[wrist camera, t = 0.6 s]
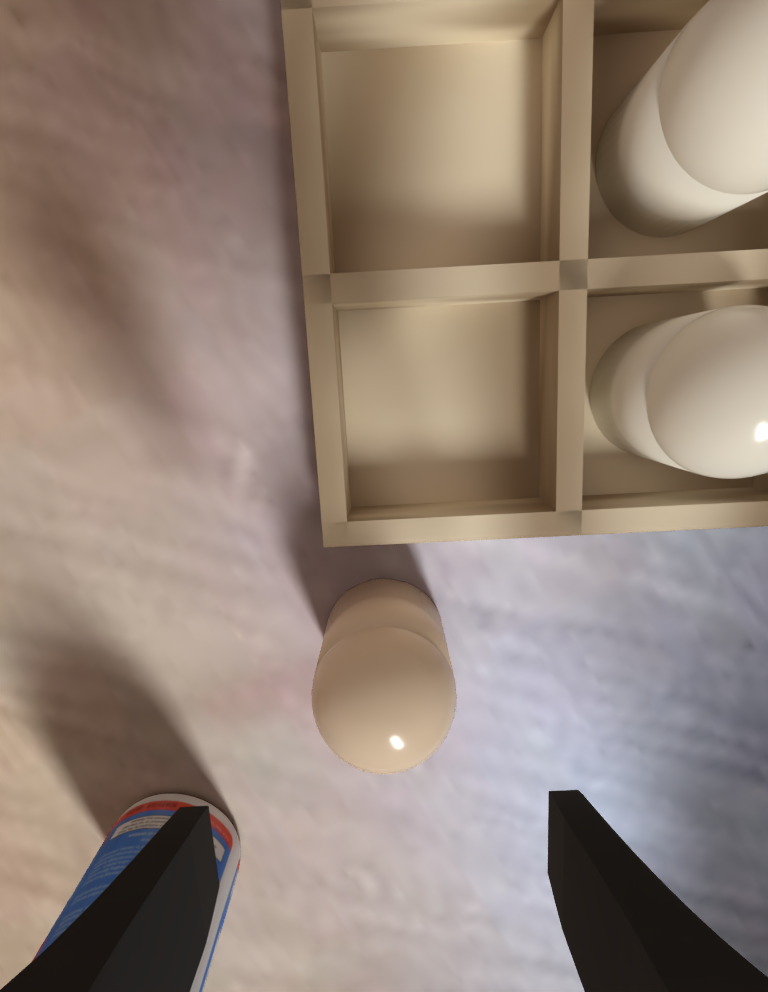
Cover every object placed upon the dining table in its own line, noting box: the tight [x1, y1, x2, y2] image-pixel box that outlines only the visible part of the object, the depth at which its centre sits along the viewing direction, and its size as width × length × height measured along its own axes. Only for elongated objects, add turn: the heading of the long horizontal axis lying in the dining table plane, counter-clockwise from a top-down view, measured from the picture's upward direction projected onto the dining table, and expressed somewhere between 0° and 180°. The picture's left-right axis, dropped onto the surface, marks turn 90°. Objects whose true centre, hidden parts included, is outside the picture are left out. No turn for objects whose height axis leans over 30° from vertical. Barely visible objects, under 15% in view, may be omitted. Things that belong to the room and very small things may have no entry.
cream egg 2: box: [590, 305, 768, 479], centre depth 15 cm, size 4×4×6 cm
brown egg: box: [312, 579, 457, 774], centre depth 18 cm, size 4×4×6 cm
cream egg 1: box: [596, 0, 768, 237], centre depth 14 cm, size 4×4×6 cm
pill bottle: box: [33, 794, 241, 992], centre depth 18 cm, size 6×5×10 cm
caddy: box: [280, 0, 768, 547], centre depth 17 cm, size 15×15×2 cm
